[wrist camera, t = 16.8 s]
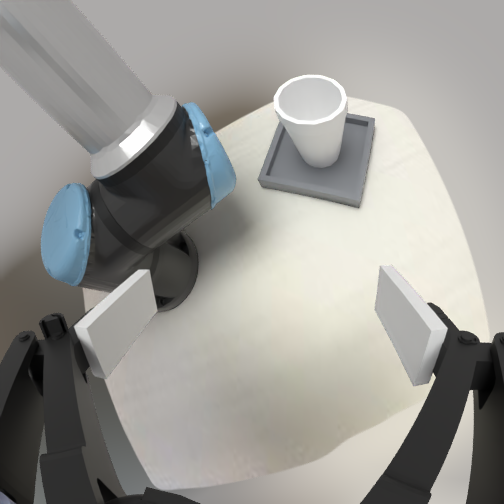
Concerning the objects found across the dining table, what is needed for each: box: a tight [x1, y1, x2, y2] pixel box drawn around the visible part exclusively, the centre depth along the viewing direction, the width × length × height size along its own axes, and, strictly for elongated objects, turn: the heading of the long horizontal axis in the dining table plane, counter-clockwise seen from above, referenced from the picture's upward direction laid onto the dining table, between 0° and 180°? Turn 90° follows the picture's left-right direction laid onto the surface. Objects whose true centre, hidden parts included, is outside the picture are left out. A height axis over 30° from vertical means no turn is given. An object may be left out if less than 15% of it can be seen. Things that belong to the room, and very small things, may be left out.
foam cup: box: [274, 75, 348, 168], centre depth 38 cm, size 10×9×13 cm
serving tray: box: [258, 113, 375, 208], centre depth 44 cm, size 16×16×2 cm
